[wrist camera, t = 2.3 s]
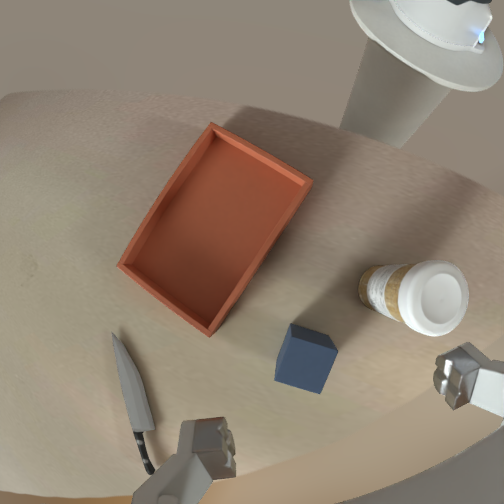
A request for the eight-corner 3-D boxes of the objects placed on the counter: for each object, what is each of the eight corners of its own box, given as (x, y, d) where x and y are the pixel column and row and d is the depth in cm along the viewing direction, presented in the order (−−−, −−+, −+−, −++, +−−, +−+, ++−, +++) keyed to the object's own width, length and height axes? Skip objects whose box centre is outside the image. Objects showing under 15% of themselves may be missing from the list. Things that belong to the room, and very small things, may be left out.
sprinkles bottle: (406, 293, 28) (481, 306, 15) (371, 319, 28) (428, 353, 15) (384, 255, 29) (450, 244, 15) (347, 281, 29) (394, 289, 16)
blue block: (290, 322, 29) (291, 335, 23) (328, 335, 29) (338, 350, 23) (276, 360, 29) (274, 380, 23) (314, 371, 29) (320, 394, 23)
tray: (216, 132, 31) (210, 121, 29) (311, 187, 30) (313, 180, 27) (128, 266, 31) (116, 266, 29) (215, 332, 30) (209, 337, 27)
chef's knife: (135, 329, 31) (112, 331, 31) (131, 331, 30) (107, 332, 30) (170, 473, 30) (148, 472, 30) (168, 478, 28) (146, 476, 28)
